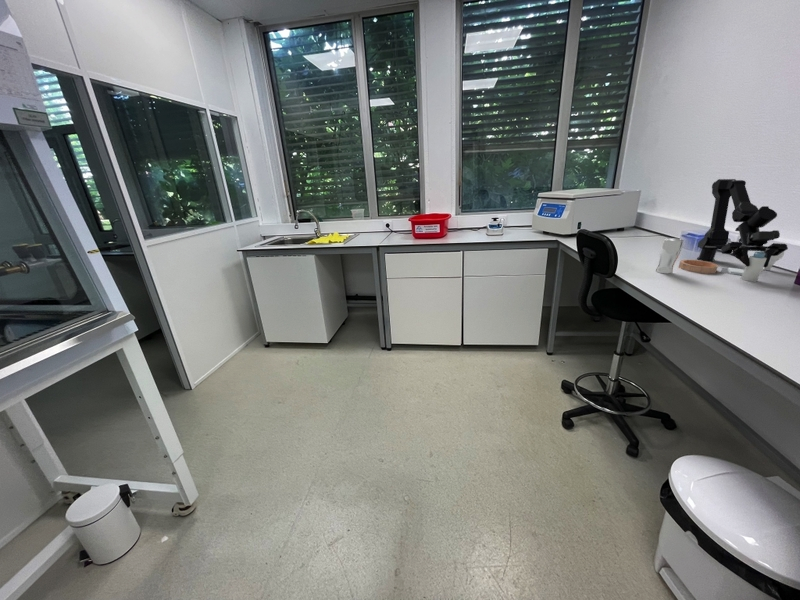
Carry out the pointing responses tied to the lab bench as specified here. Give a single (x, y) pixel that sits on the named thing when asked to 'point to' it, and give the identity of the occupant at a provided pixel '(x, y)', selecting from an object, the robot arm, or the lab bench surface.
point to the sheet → (736, 271)
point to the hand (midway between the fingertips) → (757, 266)
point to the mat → (727, 271)
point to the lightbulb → (773, 261)
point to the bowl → (698, 266)
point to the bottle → (754, 267)
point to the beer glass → (669, 255)
